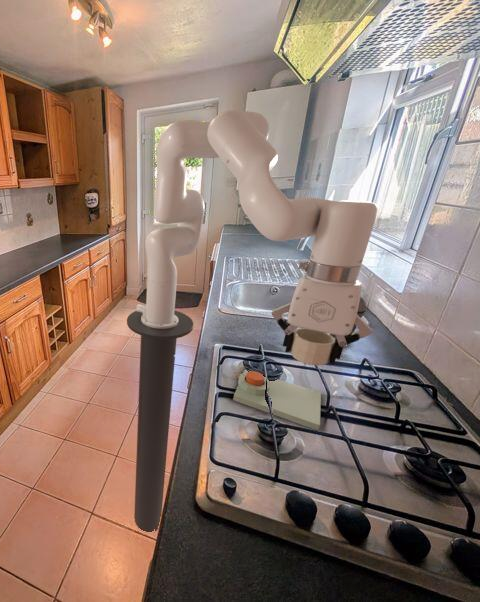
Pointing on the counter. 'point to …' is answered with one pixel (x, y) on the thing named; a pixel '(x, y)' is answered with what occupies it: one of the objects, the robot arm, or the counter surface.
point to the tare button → (255, 378)
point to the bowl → (312, 346)
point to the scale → (282, 400)
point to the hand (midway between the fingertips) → (309, 354)
